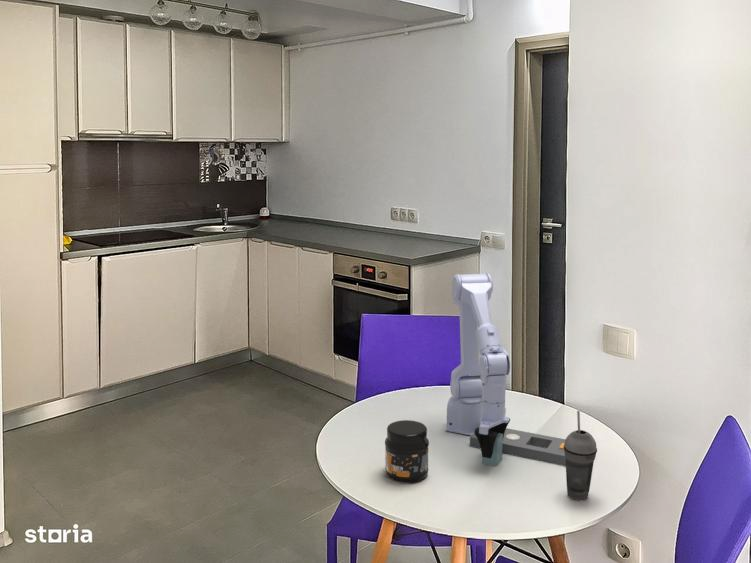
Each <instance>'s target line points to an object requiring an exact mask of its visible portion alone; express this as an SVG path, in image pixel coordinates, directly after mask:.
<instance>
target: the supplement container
mask: <svg viewBox="0 0 751 563" xmlns="http://www.w3.org/2000/svg"><path fill="white" fill-rule="evenodd" d="M427 436H428V428H427V426H426V425H425V424H424V423H422V422H419V421H416V420H410V419H409V420H407V419H406V420H405V419H403V420H397V421H393V422H391V423H389V424H388V425H387V428H386V438H385V440H384V445H385V447H384V448H385V450H384V451H385V458H384V459H385V466H384V471H385V474H386V476H388V478H390V479H391V480H393V481H395V482H399V483H405V484H406V483H407V484H408V483H409V484H410V483H416V482H419V481H421V480H423V479H425V478H426V477H427V475H428V474H429V446H430V441H429V438H428V437H427Z"/></svg>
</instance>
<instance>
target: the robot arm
mask: <svg viewBox="0 0 751 563" xmlns="http://www.w3.org/2000/svg"><path fill="white" fill-rule="evenodd" d="M493 289H494V280H493V278H492V276H491V274H490V273H489V272H486V273H474V274H473V273H471V274H470V273H469V274H459V273H457V274H454V276H453V278H452V280H451V294H452V295H451V297H452V302H453V304H455V305H457V306H458V312H459V335H460V336H459V338H460V364H458V366H456V367H455V368H454V369H453V370H452V371H451V373H450V374H451V375H450V382H449V383H450V385H449V387H450V394H451V396H450V397H449V399H448V401H447V404H446V405H447V406H446V428H445V431H446V432H449V433H457V434H460V435H461V434H462V435H466V436H470V437H471V436H472V435H473V434H474V432H475V435H476V437H477V439H478V441H479V444H480V448H479V449H480V451H481V457H482V456H483V457H485V458H491V457H492V454H493V448H494V443H495V440H496V438H497V436H498V434H499V433H501V434H503V437H504V433H505V430H506V428H508V425H509V424H510V421H511V418H510V417H509V416H508V417H507V416H506V415H507V414H506V413H507V412H506V410H507V408H506V387H507V384H506V383H507V376H509V374H510V372H511V360H510V356H509V353H508V352H507V351H506V348H505V347H503V344H502V341H501V340H502V339H501V337H500V333H499V332H500V331H499V329H498V328H497V326H495V325H493V322H492V314H491V309H490V303H489V301H490V299H491V298H492V293H493V291H494V290H493ZM479 355H480V357H479ZM502 441H503V439H502Z"/></svg>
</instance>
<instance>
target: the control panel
mask: <svg viewBox="0 0 751 563" xmlns="http://www.w3.org/2000/svg"><path fill="white" fill-rule="evenodd" d="M565 440H566V438H560V437H556V436H549V435H544V434H539V433H534V432H529V431H525V430H524V431H522V430H519V429H518V430H517V429H514V428H513V429H511V428H508V427H507V428H506V430H505V433H504V437H503V441H502V454H506V455H507V454H508V455H512V456H516V457H521V458H527V459H531V460H537V461H542V462H545V463H551V464H556V465H561V466H565V467H566V457H565V453H564V444H565ZM469 447H472V448H473V447H474V448H478V449H481V448H480V444H479V441H478V439H477V437H476V435H475V432H474V434H473V435H472V436H471V435H470V437H469Z"/></svg>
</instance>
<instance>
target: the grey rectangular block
mask: <svg viewBox="0 0 751 563" xmlns="http://www.w3.org/2000/svg"><path fill="white" fill-rule="evenodd" d="M502 439H503V434H501V433H499V434H498V436H497V438H496V440H495V443H494V448H493V454H492V457H491V458H485V457H483V456H482V455H481V462H480V463H481V464H485V465H489V466H493V467H497V466H498V465H499V464H500V463H501V462H502V461H503V453H502Z"/></svg>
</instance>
